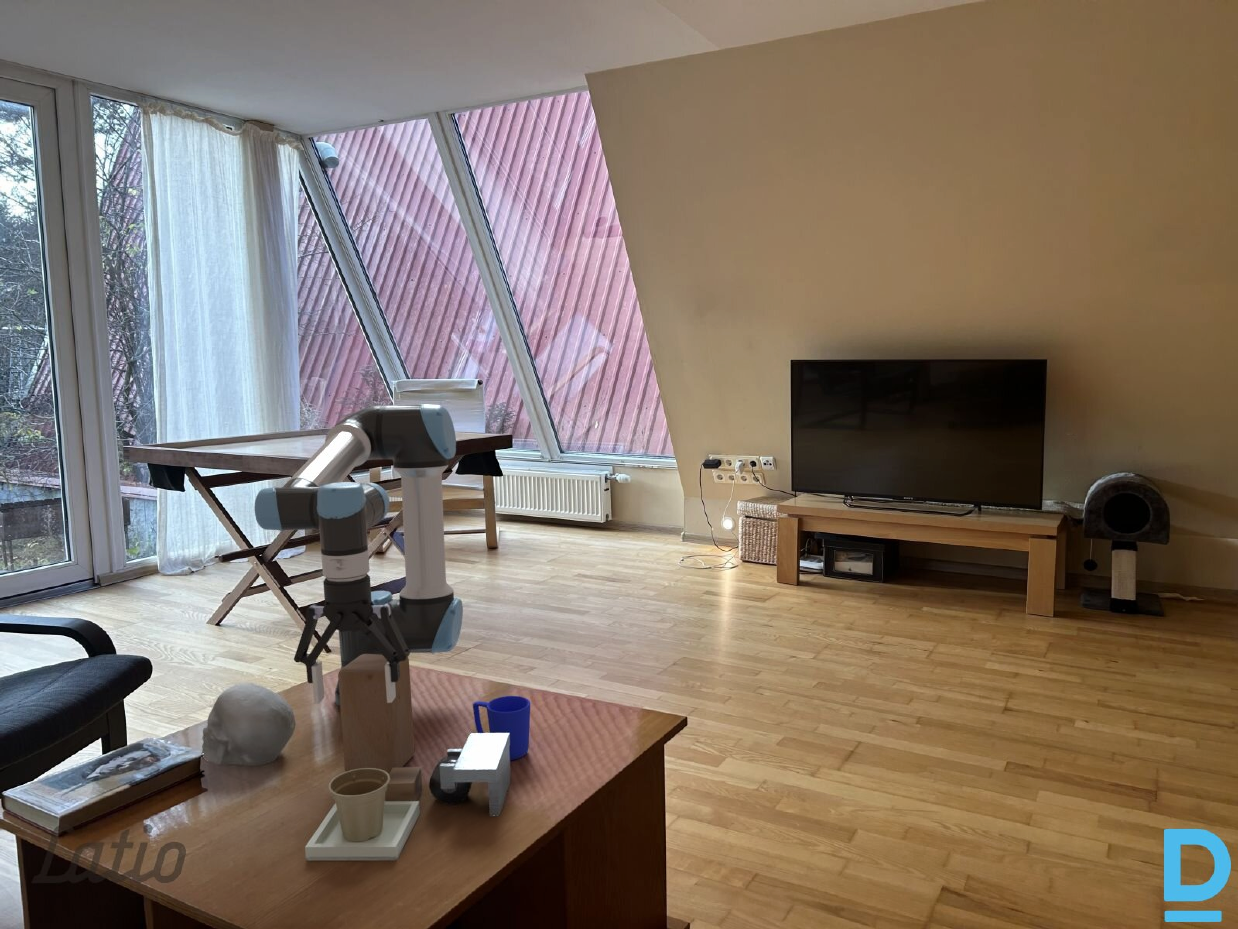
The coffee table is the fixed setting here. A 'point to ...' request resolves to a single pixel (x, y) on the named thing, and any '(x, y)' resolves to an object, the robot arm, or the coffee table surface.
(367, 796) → the flower pot
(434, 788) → the caster wheel
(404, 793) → the block
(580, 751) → the coffee table surface
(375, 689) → the wooden block
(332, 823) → the tray
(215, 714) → the skull
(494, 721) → the mug
